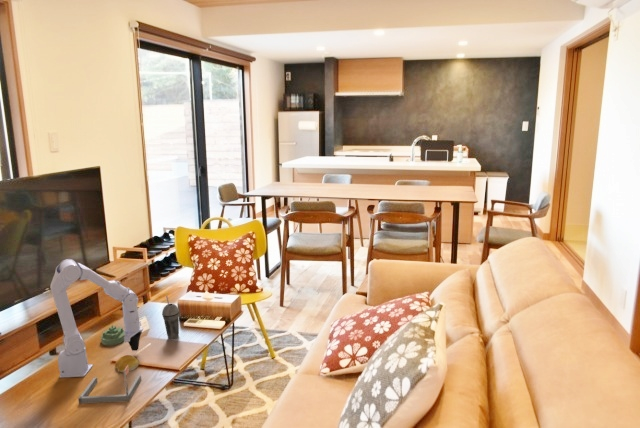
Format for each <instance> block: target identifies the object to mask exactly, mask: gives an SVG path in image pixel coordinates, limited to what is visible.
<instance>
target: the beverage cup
mask: <svg viewBox="0 0 640 428" xmlns="http://www.w3.org/2000/svg"><path fill="white" fill-rule="evenodd" d="M165 296H166V297H165V299H166V302H167V304H166V305H164V307H163V309H162V313H161V315H162V317H163V321H164V326H165V331H166V336H167V338H168V340H171V341H173V340H177V339H179V337H180V336H179V334H180V333H179V332H180V326H179V324H180V323H179V320H180V310H179V307H178V306H177V305H176V304H174V303H170V302H169V298H168V295H165Z"/></svg>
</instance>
